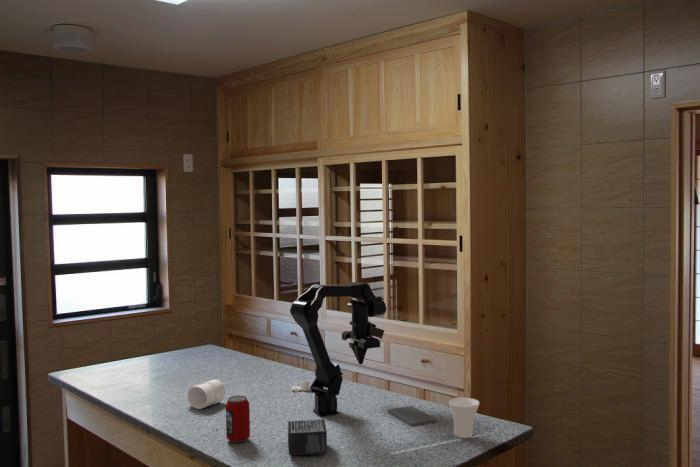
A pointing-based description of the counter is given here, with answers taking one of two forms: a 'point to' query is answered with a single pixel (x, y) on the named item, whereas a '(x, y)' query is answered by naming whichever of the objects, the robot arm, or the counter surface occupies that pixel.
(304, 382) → the teacup and saucer
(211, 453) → the counter surface
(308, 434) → the small box
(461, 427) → the cup
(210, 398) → the white cylinder
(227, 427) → the beverage can
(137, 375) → the counter surface
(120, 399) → the counter surface
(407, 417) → the mat
